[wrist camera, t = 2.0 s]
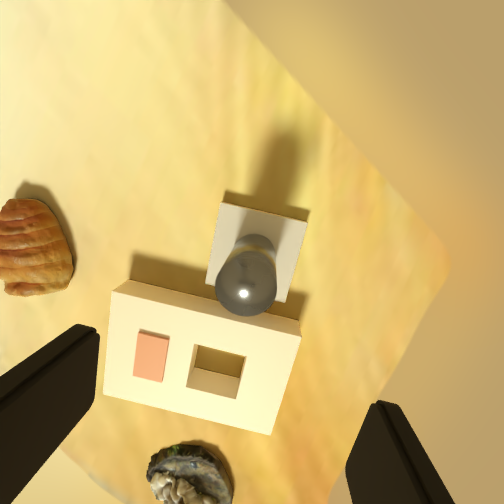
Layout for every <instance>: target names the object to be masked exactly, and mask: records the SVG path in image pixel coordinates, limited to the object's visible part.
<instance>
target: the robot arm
mask: <svg viewBox="0 0 504 504" xmlns="http://www.w3.org/2000/svg"><path fill="white" fill-rule="evenodd" d="M99 342H100V335H99V334H98V333H96V329H95V328H93V327H89V326H85V325H81V324H76V325H74V326H72V327H71V328H69V329H68V330H67V331H65V332H64V333H62V334H61V335H59V336H58V337H57V338H55V339H54V340H52V341H51V342H49V343H48V344H46V345H45V346H44V347H42V348H41V349H39V350H38V351H36V352H35V353H33V354H32V355H31V356H29V357H28V358H26V359H25V360H23V361H22V362H21V363H19V364H18V365H16V366H15V367H13V368H12V369H10V370H9V371H8V372H6V373H5V374H3V375H2V376H0V504H11V503H12V502H13V500H14V499H15V498H16V497H17V496H18V494H19V493H20V492H21V491H22V490H23V488H24V487H25V486H26V485H27V484H28V482H29V481H30V480H31V479H32V477H33V476H34V475H35V474H36V473H37V471H38V470H39V469H40V468H41V467H42V465H43V464H44V463H45V461H47V459H48V458H49V457H50V455H52V453H53V452H54V451H55V450H56V449H57V447H58V446H59V445H60V444H61V443H62V441H63V440H64V439H65V438H66V437H67V435H68V434H69V433H70V432H71V430H72V429H73V428H74V427H75V426H76V424H77V423H78V422H79V421H80V420H81V418H82V417H83V416H84V415H85V414H86V412H87V411H88V410H89V409H90V407H91V405H92V403H93V401H94V397H95V387H96V376H97V365H98V353H99ZM345 472H346V478H347V482H348V486H349V491H350V495H351V499H352V503H353V504H455V503H454V501H453V499H452V498H451V496H450V494H449V492H448V490H447V489H446V487H445V485H444V484H443V482H442V480H441V478H440V476H439V475H438V473H437V471H436V469H435V468H434V466H433V464H432V462H431V461H430V459H429V457H428V455H427V454H426V452H425V450H424V448H423V447H422V445H421V443H420V441H419V440H418V438H417V436H416V434H415V432H414V431H413V429H412V427H411V426H410V424H409V422H408V420H407V418H406V417H405V415H404V413H403V412H402V410H401V408H400V407H399V406H398V405H397V404H394V403H390V402H386V401H382V400H378V401H377V402H376V403H375V404H374V403H372V404H371V406H370V408H369V410H368V412H367V415H366V417H365V419H364V422H363V424H362V426H361V429H360V431H359V434H358V436H357V438H356V441H355V443H354V445H353V448H352V450H351V453H350V455H349V457H348V460H347V462H346V467H345Z"/></svg>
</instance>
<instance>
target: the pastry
mask: <svg viewBox="0 0 504 504" xmlns="http://www.w3.org/2000/svg"><path fill="white" fill-rule="evenodd" d="M72 273H73V265H72V254H71V252H70V248H69V246H68V244H67V240H66V238H65V236H64V234H63V231H62V229H61V227H60V224H59V222H58V220H57V218H56V216H55V215H54V214H53V213H52V212H51V211H50V209H49V208H48V206H47V205H46V204H44V203H43V202H41V201H39V200H37V199H9V200H8V201H7V202H6V204H5V205H4V206H3V207H2V210H1V212H0V279H1V280H3V281H4V282H5V289H4V291H5V292H6V293H7V294H9V295H13V296H22V297H28V296H32V295H43V294H49V293H54V292H57V291H61V290H65V289H66V288H67V287H68V284H69V282H70V279H71V275H72Z"/></svg>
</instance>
